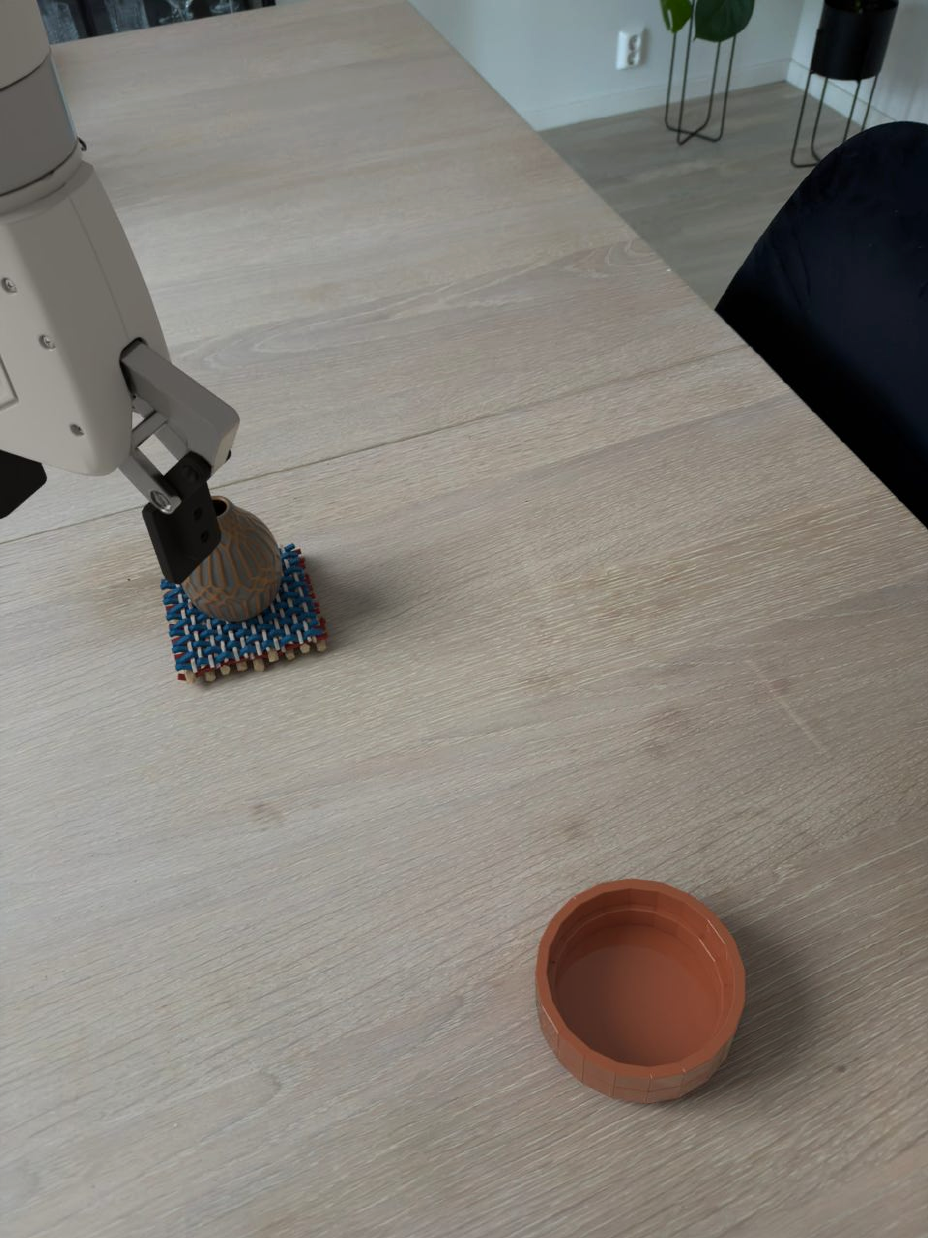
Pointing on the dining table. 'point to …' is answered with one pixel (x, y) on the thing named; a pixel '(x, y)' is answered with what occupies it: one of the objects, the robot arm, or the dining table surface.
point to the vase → (237, 567)
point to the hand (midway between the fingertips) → (104, 529)
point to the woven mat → (245, 627)
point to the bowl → (639, 990)
